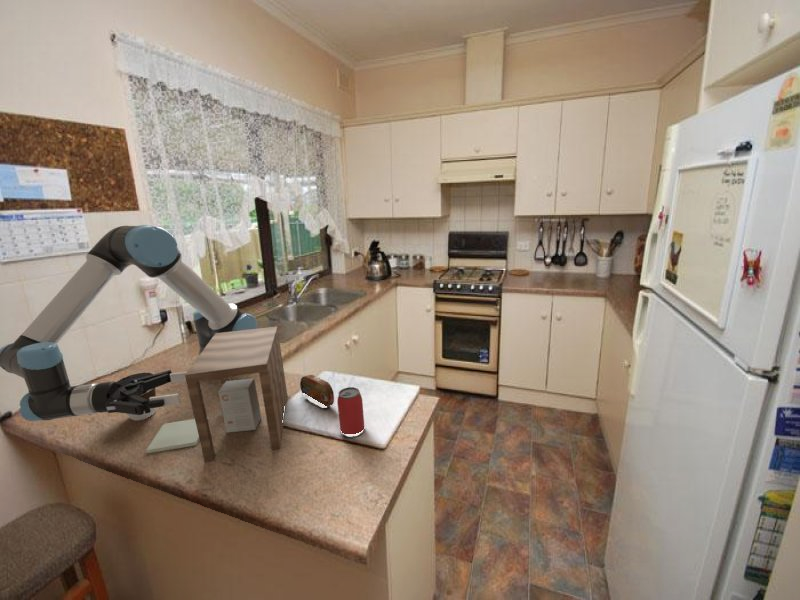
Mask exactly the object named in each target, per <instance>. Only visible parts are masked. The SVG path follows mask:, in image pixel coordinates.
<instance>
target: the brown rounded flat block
mask: <svg viewBox="0 0 800 600" xmlns="http://www.w3.org/2000/svg"><path fill="white" fill-rule="evenodd" d="M299 386H300V392H301V394H302V393H305V394H307V395H308V396H310V397H312V398H313V399H315V400H317V401H318V402H320V403H322V404H324V405H325V406H327V408H329V407H328V406H330V405H331V406H333V405H334V402H335V395H334V390H333V387H332V386H331V384H330V383H329V382H328V381H326V380H324V379H322V378H321V377H318V376H316V375H314V374H308V375H305V376H302V377H300V381H299ZM331 406H330V407H331Z"/></svg>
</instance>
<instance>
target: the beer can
mask: <svg viewBox="0 0 800 600" xmlns="http://www.w3.org/2000/svg"><path fill="white" fill-rule="evenodd" d="M336 403H337V409H338V411H337V412H338V420H339V421H338V422H339V430H341V431H342V433H344V434H356V433H359V432H361V431H362V430H363V429H364V427H365V417H364V407H363V406H364V405H363V398H362V394H361V391H360V389H359V388H357V387H354V386H352V387H351V386H348V387H345V388H342V389H340V390H339V392H338V396H337V400H336ZM364 430H365V429H364ZM341 431H340V432H341Z"/></svg>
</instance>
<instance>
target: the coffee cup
mask: <svg viewBox="0 0 800 600" xmlns="http://www.w3.org/2000/svg"><path fill="white" fill-rule="evenodd" d="M153 374H154V373H152V372H140V373H135V374H130V375H128V376H125V377H122V378H120V379H119V380H117V381H116V382H117V383H119V384H120V385H121V386H125V385H127V384H131V383H130V380H132V379H137V378H142V377H146V376H150V375H153ZM141 390H142V389H141ZM156 393H157V391H156V388H153V389H150V390H148V391H147V392H146V393H144V394H142V395H140V396H139V397H142V398H145V399H147V400H148V401H149V398H150V397H156V396H157V395H156ZM136 409H137V408H136ZM150 410H151V412H150V413H145V411H144V414H142V415H134V414H127V415H128V417H129V419H131V420H132V421H137V422H139V421H142V420H145V419H149V418H150V416H151V415H152V416H154V414H155V413H156V410H157V409H156V408H150ZM152 416H151V417H152ZM148 417H149V418H148Z"/></svg>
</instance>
